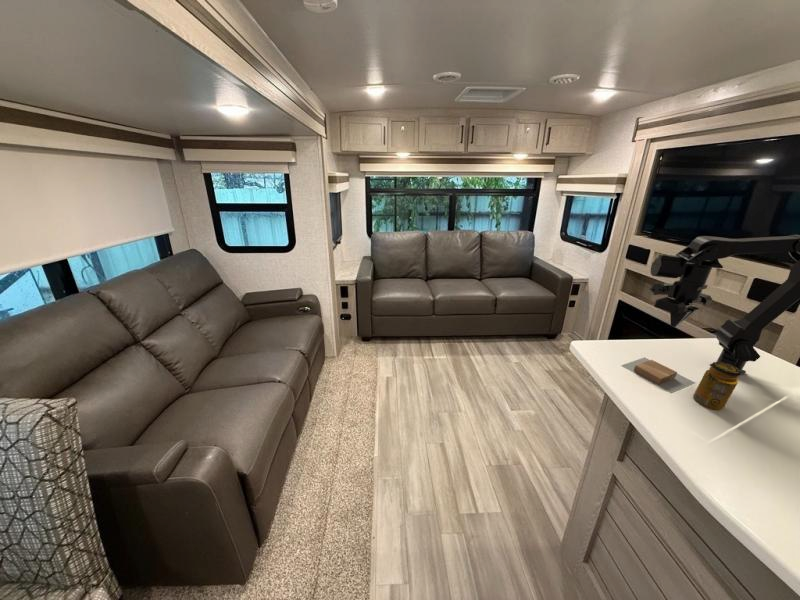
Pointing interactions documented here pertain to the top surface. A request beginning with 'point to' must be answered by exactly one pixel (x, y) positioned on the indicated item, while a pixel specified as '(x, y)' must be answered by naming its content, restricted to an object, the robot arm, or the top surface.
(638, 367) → the wooden block
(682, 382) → the mat
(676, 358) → the top surface
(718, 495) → the top surface
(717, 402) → the condiment
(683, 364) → the top surface
